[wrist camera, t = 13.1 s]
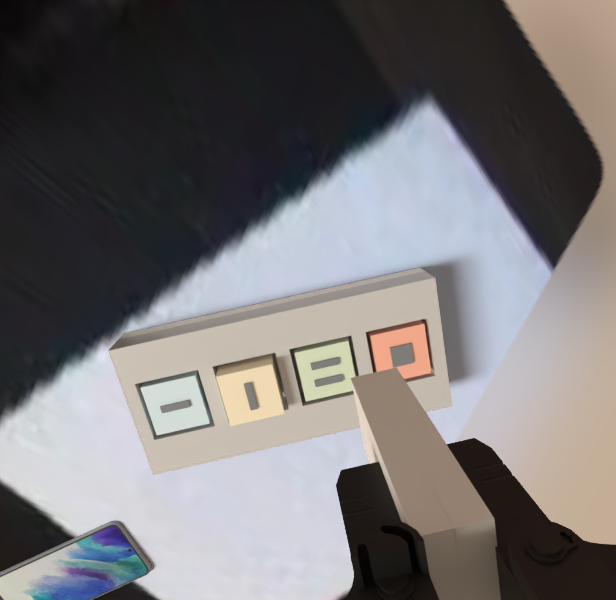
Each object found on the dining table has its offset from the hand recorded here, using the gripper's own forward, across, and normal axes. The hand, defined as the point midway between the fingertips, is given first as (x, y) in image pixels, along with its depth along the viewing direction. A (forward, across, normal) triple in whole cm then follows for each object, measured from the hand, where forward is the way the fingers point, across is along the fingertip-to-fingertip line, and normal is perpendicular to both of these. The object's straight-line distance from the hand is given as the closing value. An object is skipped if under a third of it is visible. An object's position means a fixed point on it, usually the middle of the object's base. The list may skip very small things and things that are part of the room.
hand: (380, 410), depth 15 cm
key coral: (+25, +6, -9) cm, 27 cm away
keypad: (+26, -4, -9) cm, 28 cm away
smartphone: (+27, -31, -27) cm, 49 cm away
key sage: (+25, -1, -9) cm, 26 cm away
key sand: (+23, -7, -9) cm, 26 cm away
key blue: (+25, -14, -9) cm, 30 cm away
